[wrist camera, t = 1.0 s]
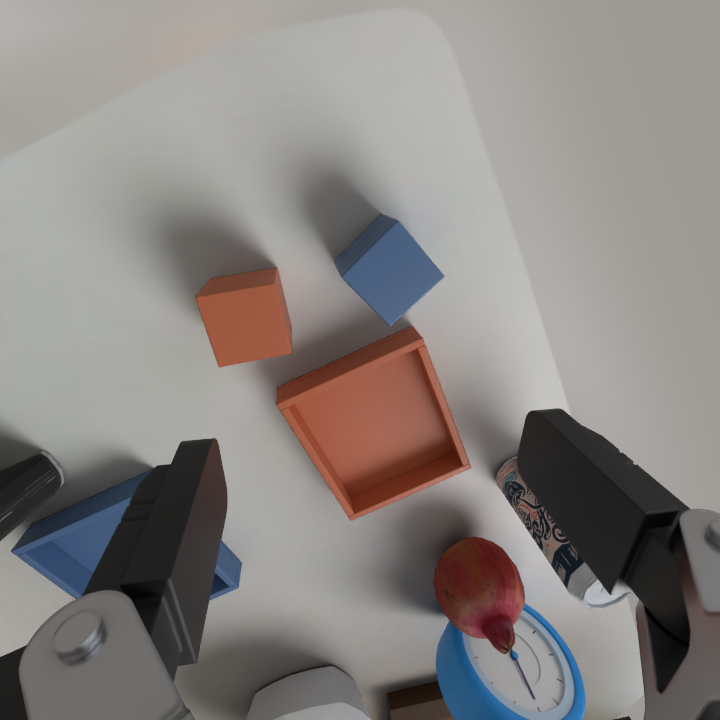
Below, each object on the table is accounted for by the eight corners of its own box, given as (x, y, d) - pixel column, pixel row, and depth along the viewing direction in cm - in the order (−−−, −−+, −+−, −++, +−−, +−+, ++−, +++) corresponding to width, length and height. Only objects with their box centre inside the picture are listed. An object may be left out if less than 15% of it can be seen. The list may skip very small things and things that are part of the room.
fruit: (410, 541, 39) (446, 650, 30) (483, 506, 38) (541, 606, 29) (439, 582, 42) (478, 690, 33) (505, 550, 42) (563, 652, 33)
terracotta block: (209, 278, 25) (194, 297, 21) (277, 266, 25) (274, 283, 21) (229, 340, 27) (218, 367, 23) (291, 328, 27) (291, 353, 23)
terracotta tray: (277, 387, 29) (275, 404, 27) (412, 325, 29) (422, 337, 26) (347, 499, 35) (350, 521, 33) (460, 449, 34) (471, 468, 32)
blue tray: (30, 524, 31) (9, 551, 28) (154, 468, 30) (143, 491, 28) (137, 609, 37) (126, 636, 34) (242, 562, 36) (238, 588, 34)
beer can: (496, 454, 35) (584, 574, 25) (544, 446, 36) (651, 560, 25) (491, 493, 37) (571, 618, 27) (537, 485, 38) (632, 605, 27)
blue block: (333, 261, 26) (340, 276, 22) (381, 213, 25) (398, 219, 21) (376, 305, 27) (390, 327, 24) (422, 262, 27) (445, 276, 23)
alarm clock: (535, 587, 46) (636, 758, 32) (515, 620, 48) (601, 791, 35) (434, 586, 42) (500, 775, 29) (418, 621, 45) (471, 810, 31)
